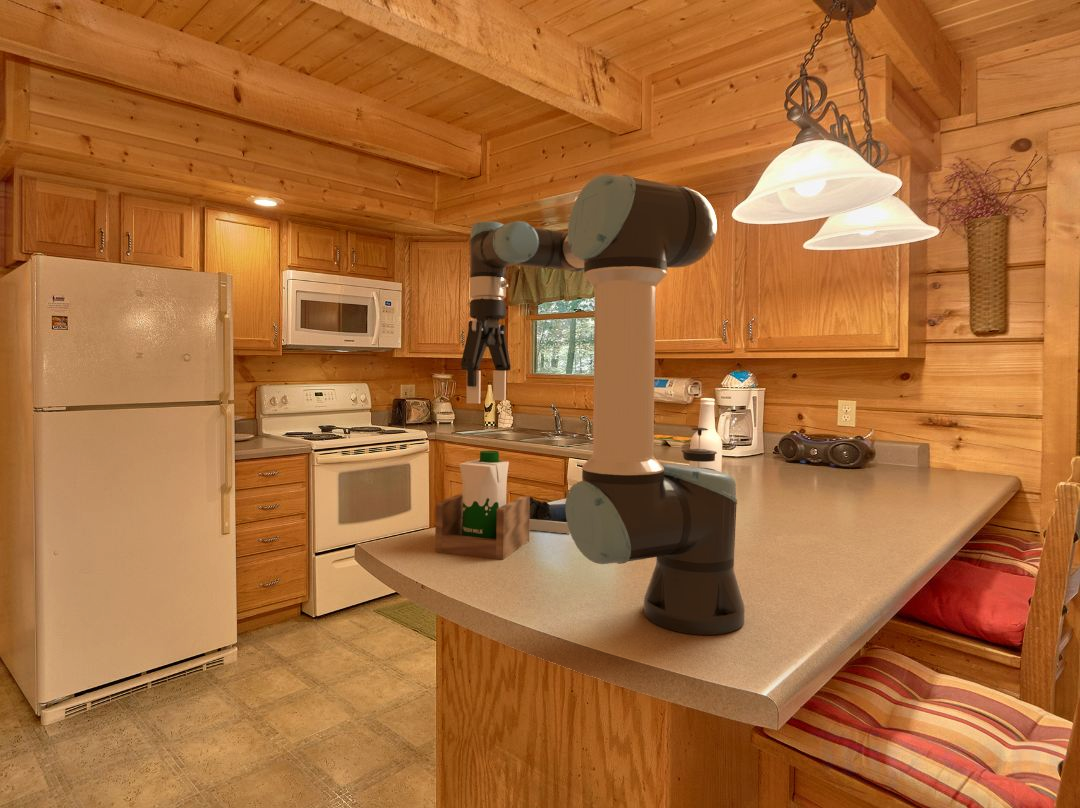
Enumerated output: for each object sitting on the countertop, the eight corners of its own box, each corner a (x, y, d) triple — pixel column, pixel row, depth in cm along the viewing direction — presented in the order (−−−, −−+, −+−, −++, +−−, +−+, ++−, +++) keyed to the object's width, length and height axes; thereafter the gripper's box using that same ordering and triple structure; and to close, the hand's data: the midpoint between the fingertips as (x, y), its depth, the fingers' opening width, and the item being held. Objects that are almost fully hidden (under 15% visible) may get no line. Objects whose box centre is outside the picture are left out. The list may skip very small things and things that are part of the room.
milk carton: (511, 544, 141) (513, 452, 140) (489, 555, 133) (490, 456, 132) (477, 539, 145) (478, 449, 144) (453, 549, 137) (454, 453, 136)
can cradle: (569, 534, 150) (569, 523, 150) (519, 529, 154) (520, 518, 154) (586, 520, 165) (586, 510, 165) (540, 515, 169) (541, 506, 169)
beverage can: (543, 535, 153) (581, 531, 161) (548, 504, 152) (587, 501, 159) (521, 520, 160) (559, 517, 168) (526, 491, 159) (564, 488, 166)
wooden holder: (503, 559, 130) (503, 509, 129) (435, 551, 135) (435, 503, 134) (529, 541, 144) (529, 495, 144) (466, 534, 149) (467, 490, 148)
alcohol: (715, 509, 180) (718, 399, 178) (684, 505, 185) (687, 398, 183) (724, 503, 187) (727, 398, 186) (694, 500, 192) (697, 397, 190)
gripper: (480, 292, 124) (479, 405, 125) (525, 305, 147) (524, 399, 148) (444, 293, 126) (443, 404, 127) (494, 305, 150) (493, 398, 151)
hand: (487, 402), depth 138 cm, fingers open, 13 cm apart
